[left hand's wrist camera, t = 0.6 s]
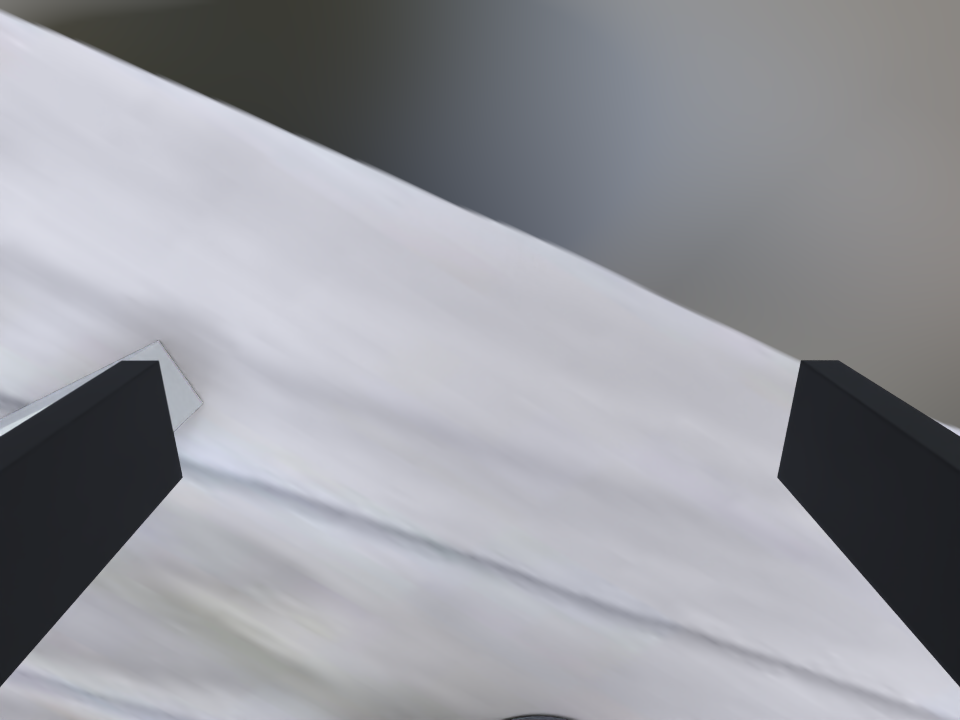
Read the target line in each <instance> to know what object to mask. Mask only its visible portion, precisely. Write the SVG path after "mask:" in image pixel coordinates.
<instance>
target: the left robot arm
mask: <svg viewBox="0 0 960 720" xmlns="http://www.w3.org/2000/svg"><path fill="white" fill-rule="evenodd" d="M181 479H182V472H181V467H180V462H179V457H178V452H177V447H176V442H175V437H174V432H173V427H172V422H171V417H170V413H169V408H168V403H167V398H166V393H165V388H164V383H163V378H162V373H161V368H160V363H159V360H121V361H120V362H118V363H117V364H115V365H113V366H112V367H110V368H109V369H107V370H105V371H104V372H102V373H101V374H99V375H97V376H96V377H94V378H93V379H91V380H89V381H88V382H86V383H85V384H83V385H81V386H80V387H78V388H77V389H75V390H74V391H72V392H70V393H69V394H67V395H66V396H64V397H62V398H61V399H59V400H58V401H56V402H54V403H53V404H51V405H50V406H48V407H46V408H45V409H43V410H42V411H40V412H38V413H37V414H35V415H34V416H32V417H30V418H29V419H27V420H26V421H24V422H22V423H21V424H19V425H18V426H16V427H14V428H13V429H11V430H10V431H8V432H7V433H5V434H3V435H2V436H0V687H1V685H2V684H3V683H4V682H5V681H6V680H7V679H8V677H9V676H10V675H11V674H12V673H13V672H14V670H15V669H16V668H17V667H18V666H19V665H20V664H21V662H22V661H23V660H24V659H25V658H26V657H27V656H28V654H29V653H30V652H31V651H32V650H33V649H34V648H35V646H36V645H37V644H38V643H39V642H40V641H41V639H42V638H43V637H44V636H45V635H46V634H47V633H48V631H49V630H50V629H51V628H52V627H53V626H54V625H55V623H56V622H57V621H58V620H59V619H60V618H61V616H62V615H63V614H64V613H65V612H66V611H67V610H68V608H69V607H70V606H71V605H72V604H73V603H74V602H75V600H76V599H77V598H78V597H79V596H80V595H81V594H82V592H83V591H84V590H85V589H86V588H87V587H88V585H89V584H90V583H91V582H92V581H93V580H94V579H95V577H96V576H97V575H98V574H99V573H100V572H101V571H102V569H103V568H104V567H105V566H106V565H107V564H108V563H109V561H110V560H111V559H112V558H113V557H114V556H115V554H116V553H117V552H118V551H119V550H120V549H121V548H122V546H123V545H124V544H125V543H126V542H127V541H128V540H129V538H130V537H131V536H132V535H133V534H134V533H135V531H136V530H137V529H138V528H139V527H140V526H141V525H142V523H143V522H144V521H145V520H146V519H147V518H148V517H149V515H150V514H151V513H152V512H153V511H154V510H155V509H156V507H157V506H158V505H159V504H160V503H161V502H162V500H163V499H164V498H165V497H166V496H167V495H168V494H169V492H170V491H171V490H172V489H173V488H174V487H175V486H176V484H177V483H178V482H179V481H180V480H181ZM778 479H779V480H780V481H781V482H782V483H783V484H784V486H785V487H786V488H787V489H788V490H789V491H790V492H791V494H792V495H793V496H794V497H795V498H796V499H797V500H798V502H799V503H800V504H801V505H802V506H803V507H804V509H805V510H806V511H807V512H808V513H809V514H810V515H811V517H812V518H813V519H814V520H815V521H816V522H817V523H818V525H819V526H820V527H821V528H822V529H823V530H824V531H825V533H826V534H827V535H828V536H829V537H830V538H831V540H832V541H833V542H834V543H835V544H836V545H837V546H838V548H839V549H840V550H841V551H842V552H843V553H844V554H845V556H846V557H847V558H848V559H849V560H850V561H851V563H852V564H853V565H854V566H855V567H856V568H857V569H858V571H859V572H860V573H861V574H862V575H863V576H864V577H865V579H866V580H867V581H868V582H869V583H870V584H871V585H872V587H873V588H874V589H875V590H876V591H877V592H878V594H879V595H880V596H881V597H882V598H883V599H884V600H885V602H886V603H887V604H888V605H889V606H890V607H891V608H892V610H893V611H894V612H895V613H896V614H897V615H898V616H899V618H900V619H901V620H902V621H903V622H904V623H905V625H906V626H907V627H908V628H909V629H910V630H911V631H912V633H913V634H914V635H915V636H916V637H917V638H918V639H919V641H920V642H921V643H922V644H923V645H924V646H925V648H926V649H927V650H928V651H929V652H930V653H931V654H932V656H933V657H934V658H935V659H936V660H937V661H938V662H939V664H940V665H941V666H942V667H943V668H944V669H945V670H946V672H947V673H948V674H949V675H950V676H951V677H952V679H953V680H954V681H955V682H956V683H957V684H958V685H959V687H960V436H958V435H957V434H955V433H953V432H952V431H950V430H949V429H947V428H946V427H944V426H942V425H941V424H939V423H938V422H936V421H934V420H933V419H931V418H930V417H928V416H926V415H925V414H923V413H922V412H920V411H918V410H917V409H915V408H914V407H912V406H910V405H909V404H907V403H906V402H904V401H902V400H901V399H899V398H898V397H896V396H894V395H893V394H891V393H890V392H888V391H886V390H885V389H883V388H882V387H880V386H878V385H877V384H875V383H874V382H872V381H870V380H869V379H867V378H866V377H864V376H863V375H861V374H859V373H858V372H856V371H854V370H853V369H851V368H850V367H848V366H847V365H845V364H843V363H842V362H840V361H838V360H801V363H800V368H799V373H798V378H797V383H796V388H795V393H794V398H793V403H792V408H791V413H790V417H789V422H788V427H787V432H786V437H785V442H784V447H783V452H782V457H781V462H780V467H779V472H778ZM511 720H566V719H562V718H556V717H545V716H533V717H522V718H516V719H511Z"/></svg>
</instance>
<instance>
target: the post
mask: <svg viewBox="0 0 960 720" xmlns="http://www.w3.org/2000/svg"><path fill="white" fill-rule="evenodd" d="M121 360H159V363H160V368H161V373H162V378H163V383H164V388H165V393H166V398H167V403H168V408H169V413H170V417H171V422H172V427H173V432H174V431H175V430H176V429H177V428H178V427H179V426H180V425H181V424H182V423H184V422H185V421H186V420H187V419H188V418H189V417H190V416H191V415H192V414H193V413H194V412H195V411H196V410H197V409H198V408H199V407H200V406H201V405H202V404H203V402H202V401H201V399H200V398H199V397H198V395H197V394H196V392H195V391H194V389H193V388H192V387H191V385H190V384H189V382H188V381H187V380H186V378H185V377H184V375H183V374H182V372H181V371H180V370H179V368H178V367H177V365H176V364H175V363H174V361H173V360H172V358H171V357H170V355H169V354H168V353H167V351H166V350H165V348H164V347H163V345H162V344H161V343H160V341H156V342H154V343H152V344H150V345H148V346H146V347H144V348H142V349H140V350H138V351H136V352H134V353H132V354H130V355H128V356H126V357H124V358H122V359H120V360H118V361H116V362H114V363H112V364H110V365H108V366H106V367H104V368H102V369H100V370H98V371H96V372H94V373H92V374H90V375H88V376H86V377H84V378H82V379H80V380H78V381H76V382H74V383H72V384H70V385H68V386H66V387H64V388H62V389H60V390H58V391H56V392H54V393H52V394H50V395H48V396H46V397H44V398H42V399H40V400H38V401H35V402H33V403H31V404H29V405H27V406H25V407H23V408H21V409H19V410H17V411H15V412H13V413H11V414H9V415H7V416H5V417H3V418H1V419H0V436H2V435H3V434H5V433H7V432H8V431H10V430H11V429H13V428H14V427H16V426H18V425H19V424H21V423H22V422H24V421H26V420H27V419H29V418H30V417H32V416H34V415H35V414H37V413H38V412H40V411H42V410H43V409H45V408H46V407H48V406H50V405H51V404H53V403H54V402H56V401H58V400H59V399H61V398H62V397H64V396H66V395H67V394H69V393H70V392H72V391H74V390H75V389H77V388H78V387H80V386H81V385H83V384H85V383H86V382H88V381H89V380H91V379H93V378H94V377H96V376H97V375H99V374H101V373H102V372H104V371H105V370H107V369H109V368H110V367H112V366H113V365H115V364H117V363H118V362H120V361H121Z"/></svg>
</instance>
